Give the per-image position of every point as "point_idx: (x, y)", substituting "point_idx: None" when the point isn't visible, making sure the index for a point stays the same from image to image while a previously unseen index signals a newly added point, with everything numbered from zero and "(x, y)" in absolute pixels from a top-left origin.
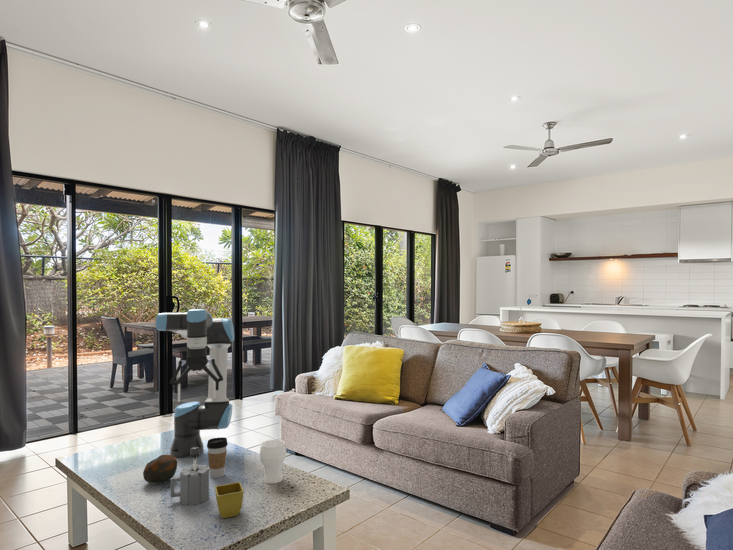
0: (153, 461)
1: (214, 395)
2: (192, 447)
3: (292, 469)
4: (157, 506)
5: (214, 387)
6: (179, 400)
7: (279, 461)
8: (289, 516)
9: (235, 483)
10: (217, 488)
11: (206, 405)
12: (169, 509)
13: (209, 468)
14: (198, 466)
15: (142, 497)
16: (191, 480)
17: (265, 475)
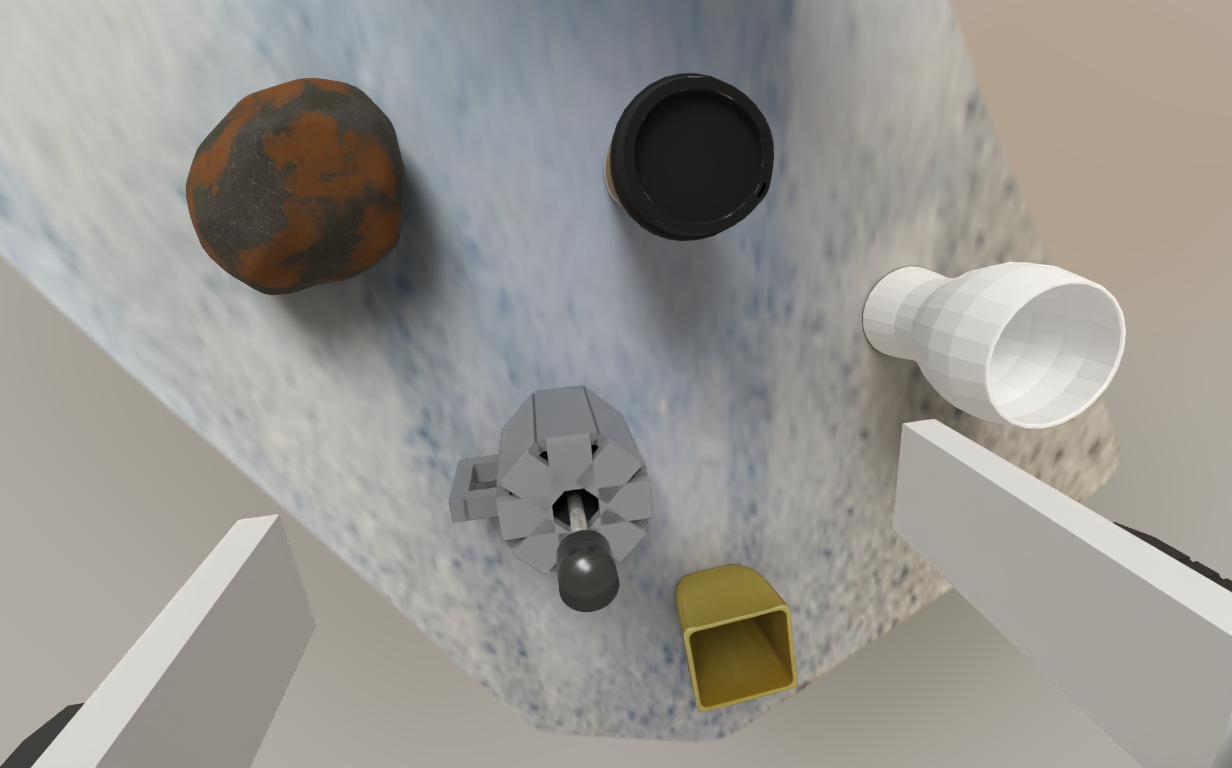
0: (239, 241)
1: (947, 565)
2: (569, 570)
3: (1016, 195)
4: (415, 490)
5: (1090, 695)
6: (300, 650)
7: (999, 388)
8: (896, 623)
9: (769, 612)
10: (692, 625)
11: None
12: (476, 523)
13: (607, 182)
14: (589, 468)
15: (304, 387)
16: None
17: (887, 339)
